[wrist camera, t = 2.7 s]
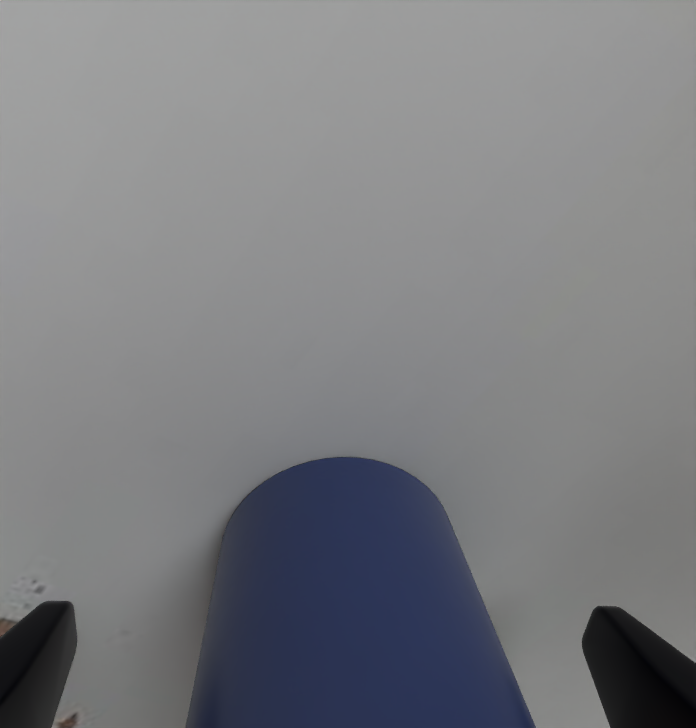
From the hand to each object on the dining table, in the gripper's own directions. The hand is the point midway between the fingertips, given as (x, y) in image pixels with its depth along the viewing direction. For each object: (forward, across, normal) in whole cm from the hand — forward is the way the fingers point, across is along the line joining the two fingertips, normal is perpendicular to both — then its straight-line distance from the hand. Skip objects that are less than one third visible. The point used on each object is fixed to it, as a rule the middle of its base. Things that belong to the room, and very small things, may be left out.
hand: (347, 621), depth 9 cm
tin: (+2, 0, 0) cm, 2 cm away
